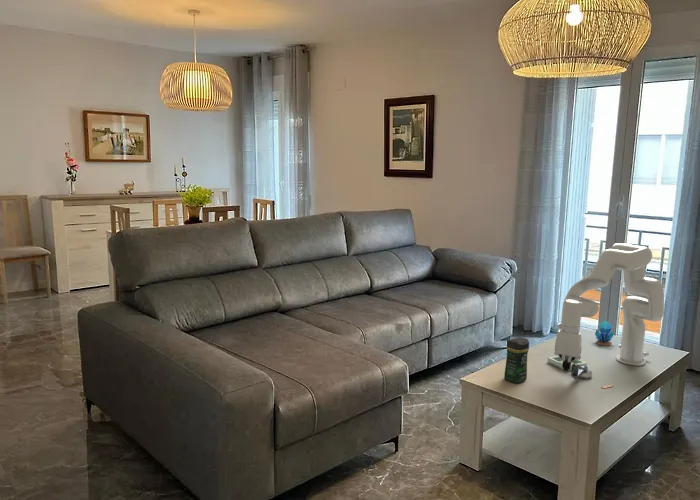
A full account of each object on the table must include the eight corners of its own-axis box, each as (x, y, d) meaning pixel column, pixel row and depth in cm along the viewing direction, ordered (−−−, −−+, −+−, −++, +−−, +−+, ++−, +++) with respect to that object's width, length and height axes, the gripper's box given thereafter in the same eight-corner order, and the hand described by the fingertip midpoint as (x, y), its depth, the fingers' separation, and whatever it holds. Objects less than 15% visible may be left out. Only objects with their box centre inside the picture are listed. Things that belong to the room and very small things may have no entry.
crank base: (568, 373, 242) (568, 369, 242) (581, 371, 245) (582, 366, 245) (582, 380, 235) (582, 375, 235) (595, 377, 238) (596, 373, 238)
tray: (566, 359, 260) (567, 354, 260) (586, 368, 249) (587, 362, 249) (547, 362, 255) (547, 357, 255) (566, 371, 244) (567, 366, 244)
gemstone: (594, 340, 289) (596, 318, 287) (612, 342, 286) (614, 320, 284) (594, 344, 282) (596, 322, 280) (612, 346, 279) (615, 324, 277)
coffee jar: (517, 385, 228) (520, 343, 225) (501, 379, 234) (503, 338, 231) (530, 379, 234) (532, 338, 232) (514, 374, 240) (516, 334, 238)
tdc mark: (610, 385, 229) (610, 385, 229) (612, 386, 228) (612, 386, 228) (601, 387, 227) (601, 386, 227) (604, 388, 226) (604, 387, 226)
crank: (579, 367, 242) (580, 355, 242) (588, 370, 240) (589, 357, 239) (568, 377, 232) (569, 364, 231) (578, 379, 229) (579, 366, 228)
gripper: (549, 327, 231) (545, 368, 234) (586, 334, 223) (582, 376, 226) (554, 323, 237) (550, 363, 240) (590, 330, 229) (586, 371, 232)
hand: (566, 369), depth 233 cm, fingers closed
